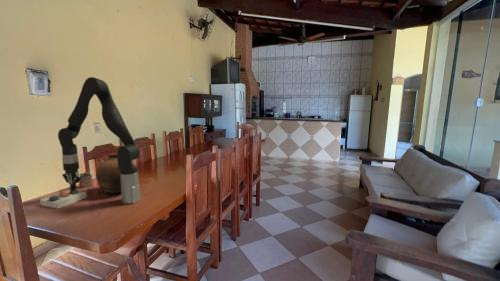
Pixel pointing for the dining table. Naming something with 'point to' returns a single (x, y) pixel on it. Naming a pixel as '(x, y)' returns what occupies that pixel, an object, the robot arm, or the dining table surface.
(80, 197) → the control panel
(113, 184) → the pottery
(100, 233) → the dining table surface
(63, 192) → the terracotta knob middle
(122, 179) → the robot arm
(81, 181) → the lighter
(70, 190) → the black knob right
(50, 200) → the black knob left
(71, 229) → the dining table surface
